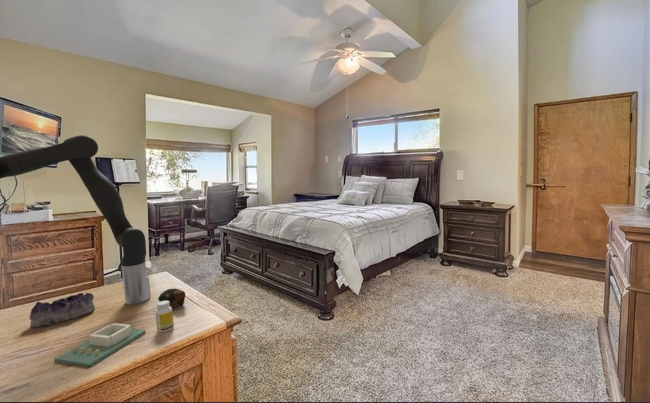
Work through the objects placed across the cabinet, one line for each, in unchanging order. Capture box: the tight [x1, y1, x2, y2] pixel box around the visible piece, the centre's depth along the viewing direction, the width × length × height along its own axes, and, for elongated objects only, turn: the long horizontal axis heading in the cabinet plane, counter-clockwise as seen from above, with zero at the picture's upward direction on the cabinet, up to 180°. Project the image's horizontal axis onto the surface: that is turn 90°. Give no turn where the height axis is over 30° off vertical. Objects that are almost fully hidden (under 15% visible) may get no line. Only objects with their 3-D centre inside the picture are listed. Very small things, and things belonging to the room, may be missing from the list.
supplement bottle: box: [155, 301, 175, 333], centre depth 113 cm, size 5×5×10 cm
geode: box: [29, 292, 96, 329], centre depth 126 cm, size 20×12×10 cm, turn 144°
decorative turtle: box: [157, 288, 186, 311], centre depth 132 cm, size 10×15×8 cm, turn 70°
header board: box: [54, 322, 146, 367], centre depth 103 cm, size 20×14×4 cm
